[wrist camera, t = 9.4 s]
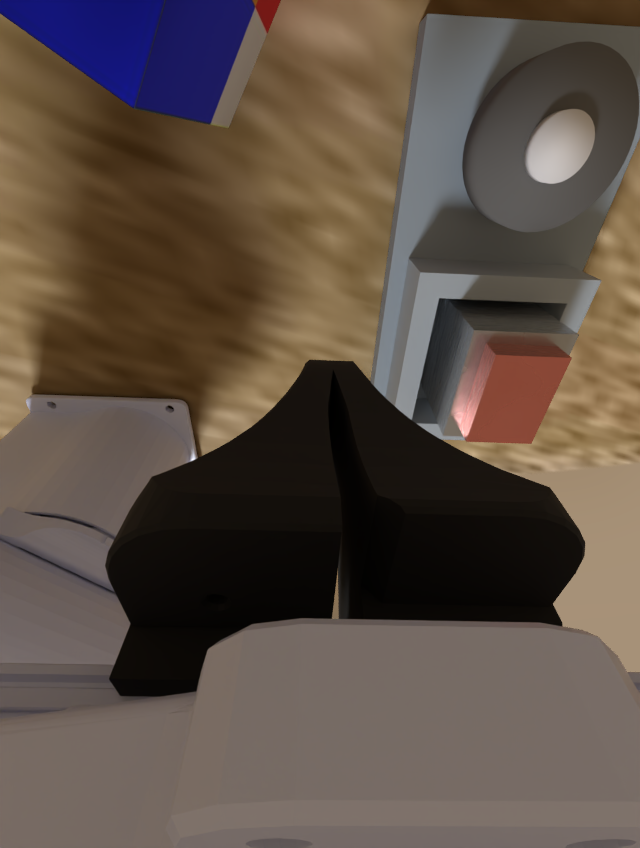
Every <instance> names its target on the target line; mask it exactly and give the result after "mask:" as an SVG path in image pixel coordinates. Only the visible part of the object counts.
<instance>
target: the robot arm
mask: <svg viewBox="0 0 640 848" xmlns="http://www.w3.org/2000/svg"><path fill="white" fill-rule="evenodd" d="M52 402H53V403H55V404H56V405H54V404H53V403H52ZM26 403H27V406H28V408H29V410H30V412H31V413H30V414H28V415H27V416H26V417H25V418H24V419H23V420H22V421H21V422H20V423H19V424H18V425H17V426H15V427H14V428H13V429H12V430H11V431H10V432H9V433H8V434H7V435H6V436H5V437H4V438H2V439H1V440H0V848H640V672H627V671H626V669H625V668H624V666H623V664H622V663H621V661H620V659H619V658H618V656H617V655H616V654H615V653H614V652H613V651H612V650H611V649H610V648H609V647H608V646H607V645H606V644H605V643H604V642H603V641H602V640H601V639H600V638H599V637H598V636H595V635H593V634H591V633H588V632H586V631H583V630H579V629H573V628H568V627H562V621H561V619H560V617H559V616H558V614H557V612H556V610H555V608H554V606H553V603H554V601H555V600H556V598H557V597H558V596H559V594H560V593H561V592H562V590H563V589H564V588H565V586H566V585H567V584H568V582H569V581H570V580H571V578H572V577H573V576H574V574H575V573H576V571H577V569H578V567H579V565H580V564H581V562H582V560H583V557H584V552H585V541H584V539H583V537H582V535H581V533H580V530H579V529H578V527H577V526H576V525H575V523H574V521H573V520H572V519H571V517H570V516H569V514H568V513H567V511H566V510H565V508H564V507H563V505H562V504H561V503H560V501H559V500H558V498H557V497H556V495H555V494H554V493H553V491H552V490H551V489H550V488H549V487H547V486H544V485H541V484H539V483H536V482H533V481H530V480H528V479H525V478H523V477H520V476H517V475H515V474H512V473H509V472H506V471H504V470H501V469H499V468H496V467H494V466H492V465H490V464H488V463H485V462H483V461H481V460H479V459H477V458H474V457H472V456H470V455H468V454H466V453H464V452H462V451H460V450H458V449H457V448H455V447H453V446H451V445H450V444H448V443H446V442H444V441H443V440H441V439H439V438H437V437H436V436H434V435H433V434H431V433H429V432H428V431H426V430H425V429H423V428H422V427H421V426H419V425H418V424H416V423H415V422H414V421H412V420H411V419H410V418H408V417H407V416H406V415H404V414H403V413H402V412H401V411H400V410H398V409H397V408H396V407H395V406H394V405H393V404H392V403H391V402H390V401H388V400H387V399H386V398H385V397H384V396H383V395H382V394H381V393H380V392H379V391H378V390H377V389H376V388H375V386H374V385H373V384H372V383H371V382H370V381H369V380H368V378H367V377H366V376H365V375H364V374H363V373H362V371H361V370H360V369H359V368H358V367H357V365H356V364H355V363H354V362H353V361H327V360H309V361H308V362H307V363H305V366H304V368H303V370H302V372H301V374H300V375H299V377H298V378H297V380H296V381H295V382H294V384H293V385H292V386H291V388H290V389H289V390H288V392H287V393H286V394H285V395H284V396H283V398H282V399H281V400H280V401H279V402H278V403H277V404H276V405H275V406H274V407H273V408H272V409H271V410H270V411H269V412H268V413H267V414H266V415H265V416H264V417H263V418H262V419H261V420H259V421H258V422H257V423H256V424H255V425H253V426H252V427H251V428H249V429H248V430H246V431H245V432H243V433H242V434H240V435H239V436H237V437H236V438H234V439H233V440H231V441H230V442H228V443H226V444H224V445H223V446H221V447H219V448H217V449H215V450H213V451H211V452H209V453H207V454H205V455H203V456H201V457H199V458H198V456H197V451H196V446H195V440H194V435H193V430H192V425H191V420H190V414H189V409H188V405H187V404H186V402H184V401H183V400H179V399H153V398H124V397H95V396H66V395H37V394H34V395H31V396H30V397H28V398H27V400H26ZM168 406H172V407H173V408H174V409H170V408H169V407H168ZM337 570H338V590H339V592H338V593H339V619H332V612H333V603H334V595H335V587H336V578H337Z"/></svg>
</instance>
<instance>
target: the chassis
mask: <svg viewBox="0 0 640 848" xmlns="http://www.w3.org/2000/svg"><path fill="white" fill-rule="evenodd" d="M588 41H590V42H596V43H601V44H604V45H606V46H609V47H611V48H612V49H614V50H615V51H617V52H618V53H619V54H620V55H621V56H622V57H623V58H624V59H625V60H626V61H627V63H628V64H629V66H630V67H631V69H632V71H633V74H634V76H635V78H636V82H637V86H638V92H639V117H638V124H637V129H636V133H635V136H634V140H633V143H632V146H631V148H630V151H629V153H628V155H627V158H626V160H625V162H624V164H623V166H622V167H621V169H620V171H619V172H618V174H617V176H616V177H615V179H614V180H613V181H612V183H611V184H610V186H609V187H608V188H607V189H606V190H605V192H604V193H603V194H602V195H601V196H600V197H599V198H598V199H597V200H596V201H595V202H594V203H593V204H592V205H591V206H590V207H589V208H587V209H586V210H585V211H584V212H582V213H581V214H580V215H578V216H577V217H575V218H574V219H572V220H570V221H568V222H566V223H565V224H562V225H560V226H558V227H555V228H552V229H549V230H545V231H539V232H521V231H516V230H513V229H510V228H507V227H505V226H503V225H500V224H498V223H495V222H493V221H491V220H489V219H487V218H486V217H485V216H483V215H482V214H481V213H480V212H479V211H478V210H477V209H476V208H475V207H474V205H473V204H472V202H471V201H470V199H469V197H468V195H467V192H466V189H465V185H464V180H463V171H462V161H463V151H464V145H465V141H466V137H467V133H468V131H469V128H470V125H471V123H472V120H473V118H474V116H475V114H476V112H477V110H478V108H479V107H480V105H481V103H482V102H483V100H484V99H485V97H486V96H487V95H488V93H489V92H490V91H491V89H492V88H493V87H494V86H495V85H496V84H497V83H498V82H499V81H500V79H502V78H503V77H504V76H505V75H506V74H507V73H508V72H510V71H511V70H512V69H514V68H515V67H517V66H518V65H519V64H521V63H523V62H525V61H527V60H529V59H531V58H533V57H535V56H538V55H540V54H543V53H545V52H547V51H550V50H552V49H555V48H557V47H560V46H563V45H565V44H570V43H575V42H588ZM639 138H640V27H633V26H617V25H601V24H585V23H570V22H554V21H538V20H522V19H506V18H490V17H474V16H458V15H442V14H427V15H426V16H425V17H424V18H423V20H422V21H421V22H420V25H419V32H418V40H417V47H416V54H415V61H414V69H413V76H412V83H411V90H410V98H409V105H408V112H407V120H406V127H405V134H404V141H403V149H402V156H401V163H400V170H399V178H398V185H397V192H396V200H395V207H394V214H393V221H392V229H391V236H390V243H389V250H388V258H387V265H386V272H385V280H384V287H383V294H382V301H381V309H380V316H379V323H378V331H377V338H376V345H375V352H374V360H373V367H372V374H371V381H370V382H371V383H372V384H373V385H374V386H375V388H376V389H377V390H378V391H379V392H380V393H381V394H382V395H383V396H384V397H385V398H386V399H387V400H388V401H390V402H391V403H392V404H393V405H394V406H395V407H396V408H397V409H398V410H400V411H401V412H402V413H403V414H404V415H406V416H407V417H408V418H410V419H411V420H412V421H414V422H415V423H416V424H418V425H419V426H421V427H422V428H423V429H425V430H426V431H428V432H429V433H431V434H433V435H434V436H436V437H437V438H439V439H445V440H465V438H464V437H462V436H443V435H442V432H441V430H440V428H439V425H438V423H437V421H436V418H435V416H434V414H433V411H432V409H431V407H430V404H429V402H428V400H427V398H426V395H425V393H424V391H423V388H422V386H421V384H420V381H421V377H422V372H423V368H424V363H425V359H426V354H427V350H428V346H429V341H430V337H431V332H432V328H433V323H434V319H435V314H436V310H437V306H438V301H439V298H446V299H470V300H494V301H517V302H534V303H535V304H537V305H538V306H540V307H541V308H542V309H544V310H545V311H547V312H548V313H549V314H551V315H552V316H554V317H555V318H556V319H558V320H559V321H560V322H562V323H563V324H565V325H566V326H567V327H569V328H570V329H572V330H573V331H574V332H576V333H577V332H578V330H579V328H580V326H581V324H582V321H583V319H584V317H585V315H586V313H587V311H588V308H589V306H590V304H591V302H592V300H593V298H594V295H595V293H596V291H597V289H598V287H599V285H600V282H601V280H599V279H597V278H595V277H593V276H591V275H589V274H587V273H585V272H583V269H584V267H585V265H586V262H587V260H588V258H589V255H590V253H591V250H592V248H593V246H594V243H595V241H596V239H597V236H598V234H599V232H600V229H601V227H602V225H603V222H604V220H605V218H606V215H607V213H608V211H609V208H610V206H611V204H612V201H613V199H614V197H615V194H616V192H617V190H618V187H619V185H620V183H621V180H622V178H623V176H624V173H625V171H626V169H627V166H628V164H629V162H630V159H631V157H632V155H633V152H634V150H635V148H636V145H637V143H638V141H639Z"/></svg>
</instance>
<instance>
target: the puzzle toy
mask: <svg viewBox="0 0 640 848" xmlns="http://www.w3.org/2000/svg"><path fill="white" fill-rule="evenodd" d="M280 1H281V0H0V14H2V15H3V16H5V17H6V18H7V19H9V20H10V21H12V22H13V23H14V24H16V25H17V26H19V27H20V28H21V29H23V30H24V31H26V32H27V33H28V34H30V35H31V36H33V37H34V38H35V39H37V40H38V41H40V42H41V43H42V44H44V45H45V46H47V47H48V48H49V49H51V50H52V51H54V52H55V53H56V54H58V55H59V56H61V57H62V58H63V59H65V60H66V61H68V62H69V63H70V64H72V65H73V66H75V67H76V68H77V69H79V70H80V71H82V72H83V73H84V74H86V75H87V76H89V77H90V78H91V79H93V80H94V81H96V82H97V83H98V84H100V85H101V86H103V87H104V88H105V89H107V90H108V91H110V92H111V93H112V94H114V95H115V96H117V97H118V98H119V99H121V100H122V101H124V102H125V103H127V104H128V105H129V106H131V107H132V108H134V109H137V110H142V111H147V112H152V113H156V114H161V115H166V116H171V117H176V118H180V119H185V120H190V121H195V122H200V123H204V124H209V125H214V126H219V127H224V128H228V129H229V126H230V124H231V121H232V119H233V116H234V114H235V111H236V109H237V106H238V104H239V102H240V99H241V97H242V94H243V92H244V89H245V87H246V84H247V82H248V79H249V77H250V75H251V72H252V70H253V67H254V65H255V62H256V60H257V57H258V55H259V52H260V50H261V48H262V45H263V43H264V40H265V38H266V35H267V33H268V30H269V28H270V25H271V23H272V21H273V18H274V16H275V13H276V11H277V8H278V6H279V3H280Z"/></svg>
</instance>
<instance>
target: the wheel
mask: <svg viewBox="0 0 640 848" xmlns="http://www.w3.org/2000/svg"><path fill="white" fill-rule="evenodd" d="M638 117H639V92H638V86H637V82H636V78H635V76H634V74H633V71H632V69H631V67H630V66H629V64H628V63H627V61H626V60H625V59H624V58H623V57H622V56H621V55H620V54H619V53H618V52H617V51H615V50H614V49H612V48H611V47H609V46H606V45H604V44H601V43H596V42H590V41H588V42H575V43H570V44H565V45H563V46H560V47H557V48H555V49H552V50H550V51H547V52H545V53H543V54H540V55H538V56H535V57H533V58H531V59H529V60H527V61H525V62H523V63H521V64H519V65H518V66H517V67H515V68H514V69H512V70H511V71H510V72H508V73H507V74H506V75H505V76H504V77H503V78H502V79H500V81H499V82H498V83H497V84H496V85H495V86H494V87H493V88H492V89H491V91H490V92H489V93H488V95H487V96H486V97H485V99H484V100H483V102H482V103H481V105H480V107H479V108H478V110H477V112H476V114H475V116H474V118H473V120H472V123H471V125H470V128H469V131H468V133H467V137H466V141H465V145H464V151H463V161H462V171H463V180H464V185H465V189H466V192H467V195H468V197H469V199H470V201H471V202H472V204H473V205H474V207H475V208H476V209H477V210H478V211H479V212H480V213H481V214H482V215H483V216H485V217H486V218H487V219H489V220H491V221H493V222H495V223H498V224H500V225H503V226H505V227H507V228H510V229H513V230H516V231H521V232H539V231H545V230H549V229H552V228H555V227H558V226H560V225H562V224H565V223H566V222H568V221H570V220H572V219H574V218H575V217H577V216H578V215H580V214H581V213H582V212H584V211H585V210H586V209H587V208H589V207H590V206H591V205H592V204H593V203H594V202H595V201H596V200H597V199H598V198H599V197H600V196H601V195H602V194H603V193H604V192H605V190H606V189H607V188H608V187H609V186H610V184H611V183H612V181H613V180H614V179H615V177H616V176H617V174H618V172H619V171H620V169H621V167H622V166H623V164H624V162H625V160H626V158H627V155H628V153H629V151H630V148H631V146H632V143H633V140H634V136H635V133H636V129H637V124H638Z"/></svg>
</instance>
